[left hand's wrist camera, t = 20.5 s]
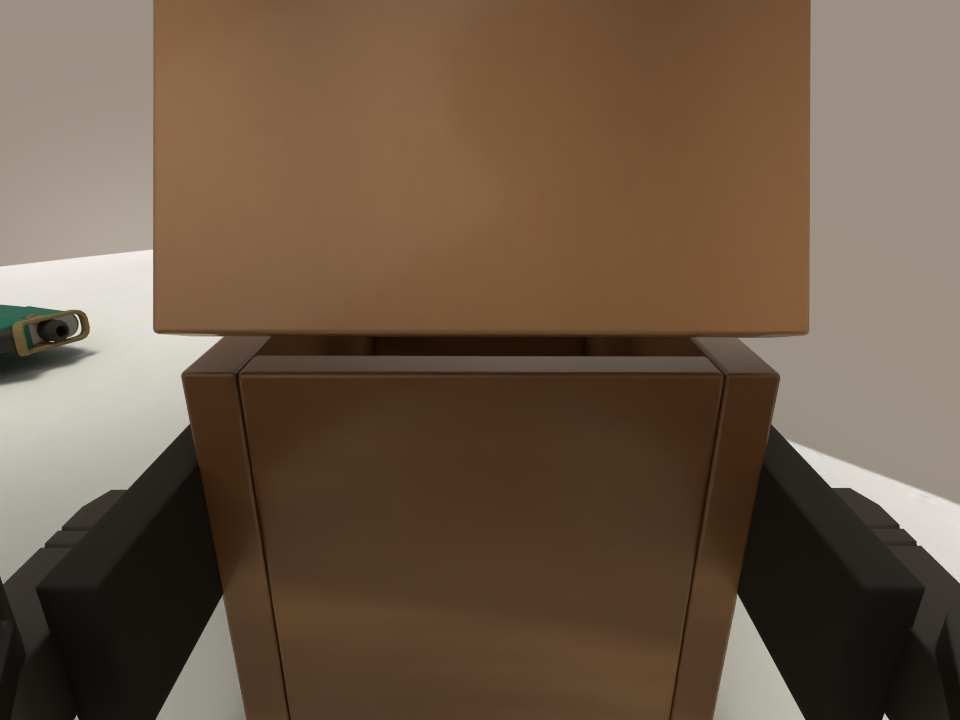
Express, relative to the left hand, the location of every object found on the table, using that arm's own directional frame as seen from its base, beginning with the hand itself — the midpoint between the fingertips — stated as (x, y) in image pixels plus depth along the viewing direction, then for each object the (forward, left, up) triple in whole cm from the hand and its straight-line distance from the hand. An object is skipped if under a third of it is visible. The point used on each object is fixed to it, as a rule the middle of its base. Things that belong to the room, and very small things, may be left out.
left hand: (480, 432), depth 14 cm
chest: (+2, -2, -7) cm, 8 cm away
